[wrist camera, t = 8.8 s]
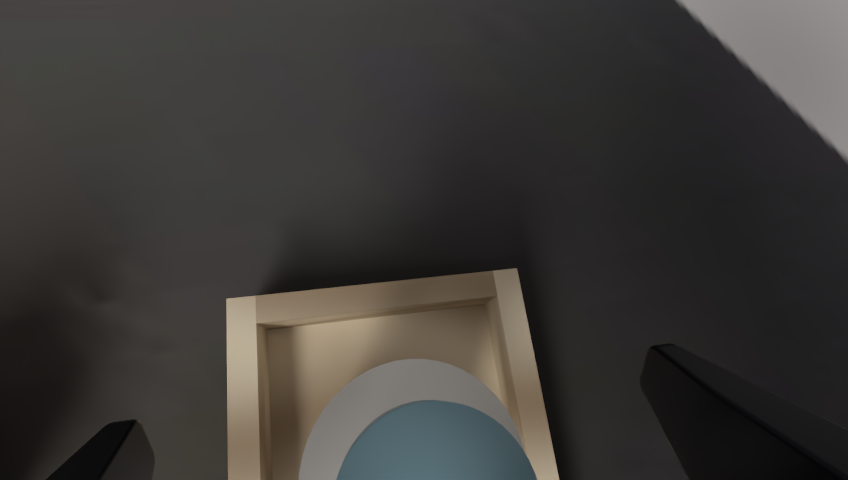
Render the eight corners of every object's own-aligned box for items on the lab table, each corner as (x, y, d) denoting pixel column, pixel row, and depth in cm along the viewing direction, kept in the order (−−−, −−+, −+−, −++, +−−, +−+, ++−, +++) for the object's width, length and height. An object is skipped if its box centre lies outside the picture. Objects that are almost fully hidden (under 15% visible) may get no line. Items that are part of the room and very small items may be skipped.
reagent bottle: (470, 405, 18) (637, 429, 7) (420, 526, 17) (531, 806, 5) (367, 353, 18) (368, 294, 7) (309, 468, 17) (192, 624, 6)
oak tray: (547, 559, 18) (581, 591, 15) (253, 622, 16) (229, 671, 13) (496, 284, 21) (517, 268, 18) (246, 311, 19) (226, 298, 17)
